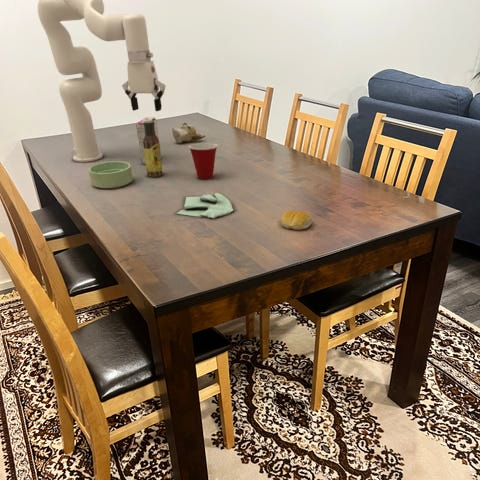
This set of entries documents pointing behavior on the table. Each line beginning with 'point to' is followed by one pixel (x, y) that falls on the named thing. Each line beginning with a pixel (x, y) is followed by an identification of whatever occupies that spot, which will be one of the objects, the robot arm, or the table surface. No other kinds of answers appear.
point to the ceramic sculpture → (186, 133)
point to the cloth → (207, 206)
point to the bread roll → (296, 220)
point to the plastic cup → (204, 159)
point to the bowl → (110, 174)
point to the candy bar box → (142, 134)
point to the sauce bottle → (152, 150)
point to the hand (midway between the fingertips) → (147, 110)
